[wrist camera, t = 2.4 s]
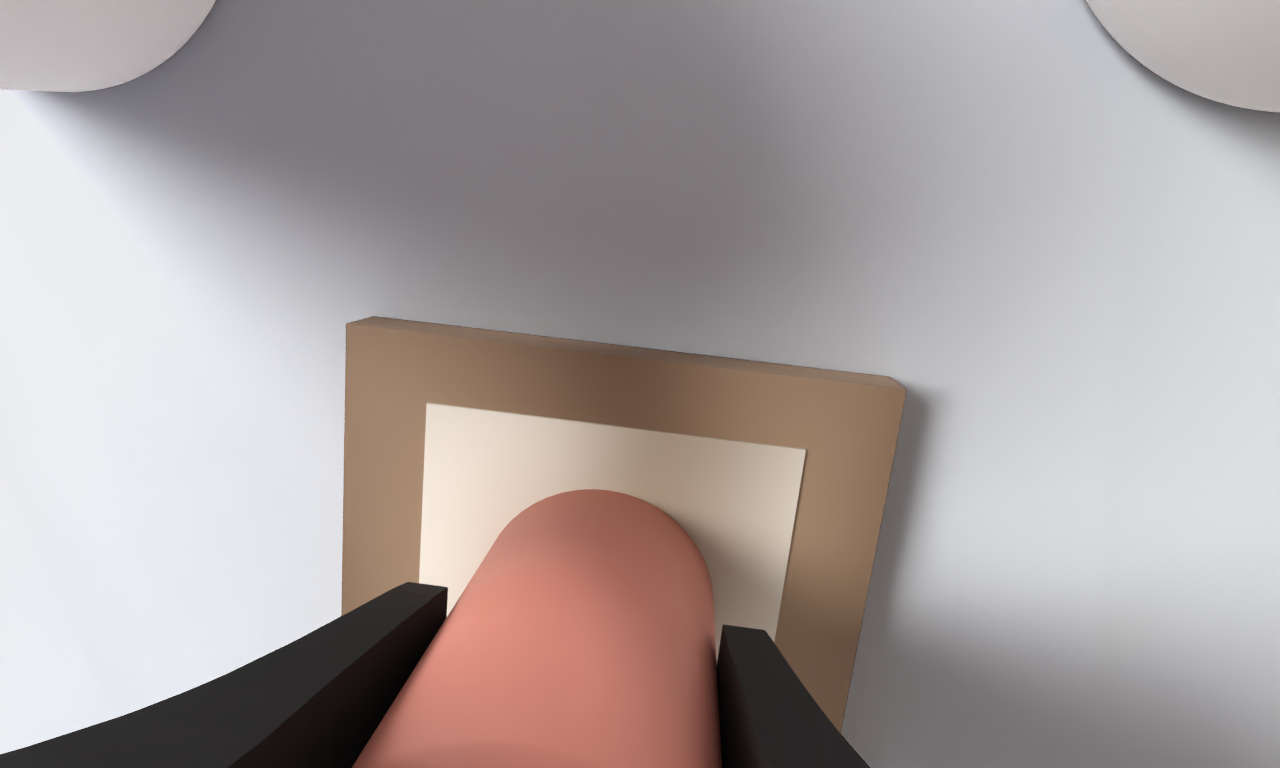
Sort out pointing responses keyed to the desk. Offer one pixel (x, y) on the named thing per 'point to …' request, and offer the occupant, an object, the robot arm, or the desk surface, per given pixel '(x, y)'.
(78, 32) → the cup
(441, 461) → the board
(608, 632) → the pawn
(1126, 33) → the pill bottle
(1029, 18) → the desk surface
